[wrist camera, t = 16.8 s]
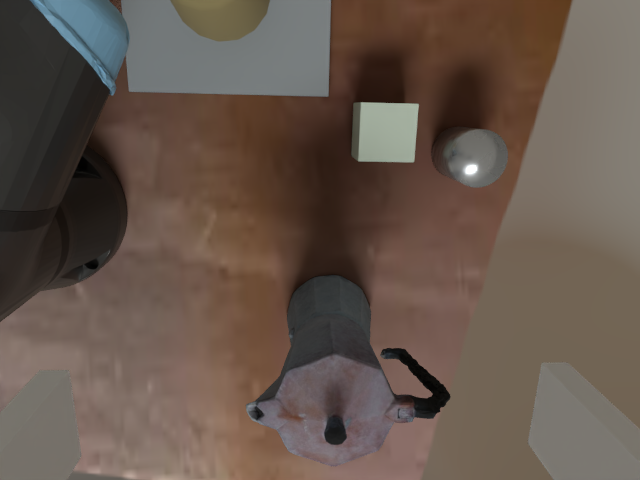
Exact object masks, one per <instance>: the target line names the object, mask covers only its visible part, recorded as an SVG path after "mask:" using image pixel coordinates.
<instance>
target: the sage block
mask: <svg viewBox="0 0 640 480" xmlns="http://www.w3.org/2000/svg"><path fill="white" fill-rule="evenodd" d="M418 106H419V104H406V103H367V102H358V103H353V126H352V150H351V156H352V157H353V158H355V159H356V160H357V161H365V162H414V157H415V144H416V132H417V119H418Z"/></svg>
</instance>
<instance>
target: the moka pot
mask: <svg viewBox="0 0 640 480" xmlns="http://www.w3.org/2000/svg"><path fill="white" fill-rule="evenodd" d="M287 321H288V328H289V337H290V342H291V348H290V350H289V353H288V355H287V358H286V360H285V363H284V366H283V369H282V371H281V374H280V376H279V378H278V379H277V380H276V381H275V382H274V383H273V384H272V385H271V386H270V387H269V388H268V389H267V390H266V391H265V392H264V393H263V394H262V395H261V396H260V397H259V398H258V399H257V400H256V401H254V402H252V403H248V404H246V409H247V413H248V415H249V416H250V418H251V420H253V421H254V422H258V423H259V424H262V425H265V426H267V427H270V428H273V429H276V430H277V431H278V433H279V434H280V436H281V438H282V440H283V443H284V444H285V446H286V448H287V449H288V451H289V452H291V453H293V454H295V455H298V456H301V457H305V458H308V459H311V460H314V461H317V462H320V463H323V464H326V465H329V466H337V465H340V464H343V463H346V462H348V461H351V460H354V459H357V458H359V457H362V456H365V455H367V454H370V453H373V452H375V451H377V450H379V449H380V447H381V446H382V444H383V442H384V440H385V438H386V436H387V434H388V432H389V430H390V428H391V427H392V425H393V423H394V422H395V423H405V422H412V421H413V419H414V417H417V418H427V419H431V418H434V416H435V415H436V414H437V413H438V412H440V408H441V407H444V406H445V405H446V403H447V401H448V400H449V399H450V394H449V393H448V391H447V390H446V388H445V387H444V385H443V384H441V383H440V382H439V381H438V380H437V379H436V378H435V377H434V376H432V375H430V374H429V373H428V371H427V370H426V369H424V368H423V367H422V366H420V365H419V364H418V362H417V361H416V360H415V359H413V358H412V356H411V355H409V354H408V352H407V351H406V350H405V349H401V348H394V349H391V348H387V349H383V350H382V352H381V355H380V356H381V357H382V358H384V359H399V360H400V361H401V362H402V363H403V364H405V365H407V366H408V368H409V370H410V371H411V372H412V373H413V375H415V376H417V378H418V379H419V381H420V382H422V383H423V385H424V386H425V387H426V388H427V389H429V390H430V391H431V392H432V393H433V395H432V397H428V399H426V398H418V397H414V396H411V395H396V394H394V393H393V392H392V390H391V387H390V385H389V383H388V380H387V378H386V376H385V374H384V372H383V370H382V368H381V365H380V363H379V361H378V359H377V357H376V355H375V353H374V351H373V349H372V347H371V345H370V321H371V310H370V307H369V304H368V302H367V299H366V297H365V295H364V293H363V291H362V289H361V288H360V287H358V286H357V285H356V284H354V283H352V282H351V281H349V280H347V279H345V278H343V277H342V276H338V275H328V276H317V277H314V278H312V279H310V280H308V281H307V282H305V283H304V284H303V285H301V286H300V287H299V288H298V289H297V290H296V291H295V292H294V293H293V295H292V298H291V300H290V304H289V309H288V314H287Z"/></svg>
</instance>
